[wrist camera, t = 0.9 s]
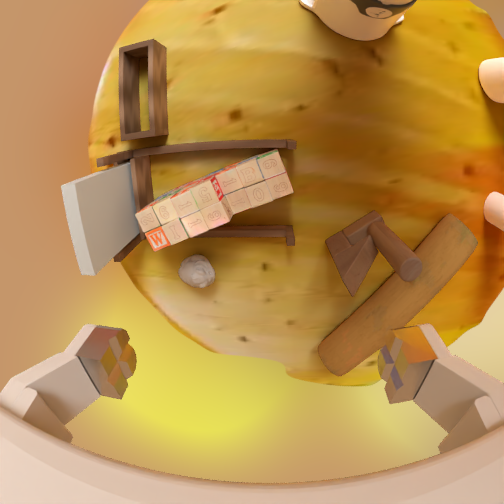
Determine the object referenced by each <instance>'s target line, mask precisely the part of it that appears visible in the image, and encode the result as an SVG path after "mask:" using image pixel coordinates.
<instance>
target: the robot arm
mask: <svg viewBox="0 0 504 504" xmlns="http://www.w3.org/2000/svg"><path fill="white" fill-rule="evenodd" d="M299 2H300V4H301V5H302V6H304V7H305V8H307V9H309V10H311V11H313V12H314V13H315V14H316V15H317V16H318V17H319V18H320V19H321V20H322V21H323V22H324V23H325V24H326V25H327V26H328V27H329V28H331V29H332V30H334V31H335V32H337V33H339V34H341V35H343V36H345V37H348V38H351V39H355V40H363V41H367V40H375V39H378V38H380V37H382V36H383V35H385V34H386V33H387V32H388V30H389V29H390V28H391V26H393V25H395V24H398V23H400V22H401V21H402V20H403V19H404V16H403V14H404V13H405V12H406V11H407V10H408V9H409V8H410V7H411V6H412V5H413V4H414V3H415V2H416V0H299ZM129 339H130V338H129V336H128V333H127V331H126V330H124V329H121V328H113V327H107V326H100V325H99V326H98V325H92V324H86V325H84V326H83V328H82V329H81V330H80V331H79V333H78V334H77V335H76V337H75V338H74V339H73V341H72V342H71V343H70V344H69V346H68V347H67V348H66V350H65V351H64V352H63V353H58V354H56V355H54V356H52V357H50V358H48V359H46V360H44V361H43V362H41V363H39V364H37V365H35V366H33V367H31V368H30V369H28V370H26V371H24V372H22V373H20V374H18V375H16V376H14V377H13V378H11V379H10V380H9V382H8V383H7V385H6V386H5V387H4V389H3V390H2V392H1V393H0V504H504V383H502V382H500V381H499V380H497V379H495V378H494V377H492V376H490V375H489V374H487V373H485V372H483V371H482V370H480V369H478V368H477V367H475V366H473V365H472V364H470V363H468V362H466V361H465V360H463V359H461V358H460V357H458V356H456V355H454V356H452V355H451V354H450V352H449V350H448V349H447V347H446V346H445V344H444V343H443V341H442V339H441V338H440V336H439V335H438V333H437V332H436V330H435V329H434V327H433V326H432V325H431V324H429V323H428V324H422V325H416V326H410V327H403V328H395V329H388V330H387V332H386V333H385V337H384V341H385V343H386V345H385V346H384V347H383V348H382V349H381V350H380V353H379V356H378V370H379V374H380V377H381V378H382V379H384V380H385V381H386V382H387V383H386V386H385V391H386V394H387V397H388V400H389V403H390V404H393V403H399V402H404V401H410V400H413V401H414V402H415V403H416V404H417V405H418V406H419V407H420V408H422V410H424V411H425V412H426V413H427V414H428V415H429V416H430V417H431V418H432V419H433V420H435V421H436V422H437V423H438V424H439V425H440V426H441V427H442V428H443V429H444V430H446V431H447V432H448V433H449V434H448V435H447V436H446V437H445V438H444V440H443V441H442V442H441V443H440V445H439V446H438V448H439V451H440V454H438V455H435V456H432V457H429V458H427V459H424V460H420V461H417V462H413V463H410V464H407V465H403V466H400V467H395V468H392V469H387V470H383V471H378V472H374V473H369V474H364V475H358V476H352V477H345V478H338V479H331V480H322V481H311V482H294V483H245V482H244V483H243V482H229V481H217V480H208V479H200V478H193V477H186V476H181V475H175V474H169V473H165V472H160V471H155V470H150V469H147V468H143V467H139V466H135V465H131V464H128V463H124V462H121V461H118V460H114V459H111V458H108V457H105V456H102V455H99V454H96V453H94V452H91V451H88V450H85V449H83V448H80V447H78V446H75V445H73V444H71V443H70V442H71V440H72V438H73V437H72V434H71V433H70V432H69V431H68V429H67V428H66V427H65V426H64V425H65V424H67V423H68V422H69V421H70V420H72V419H73V418H74V417H75V416H77V415H78V414H79V413H80V412H82V411H83V410H84V409H85V408H87V407H88V406H89V405H90V404H92V403H93V402H94V401H95V400H97V399H98V398H99V397H100V395H102V396H107V397H112V398H117V399H122V397H123V395H124V392H125V390H126V388H127V386H128V383H127V380H126V379H128V378H129V377H131V376H132V375H133V373H134V371H135V369H136V362H137V361H136V354H135V351H134V349H133V348H132V347H131V346H130V345H129V344H128V341H129Z"/></svg>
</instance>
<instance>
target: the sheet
mask: <svg viewBox="0 0 504 504" xmlns="http://www.w3.org/2000/svg"><path fill="white" fill-rule="evenodd" d="M61 189H62V195H63V200H64V206H65V211H66V216H67V221H68V225H69V230H70V233H71V238H72V242H73V246H74V250H75V254H76V257H77V261H78V264H79V268H80V271H81V275H96V274H97V273H98V272H99V271H100V270H101V269H102V268H103V267H104V266H105V265H106V264H107V263H108V262H109V261H110V260H111V259H112V258H113V257H114V256H115V255H116V254H117V253H118V252H119V251H121V250H122V249H123V248H124V247H125V246H126V245H127V244H128V243H129V242H130V241H131V240H132V239H133V238H134V237H136V236H137V235H138V234H139V233H140V231H139V225H138V220H137V218H136V216H135V214H136V206H135V199H134V191H133V183H132V175H131V165H130V161H129V162H126V163H123V164H120V165H117V166H114V167H111V168H108V169H105V170H102V171H99V172H96V173H93V174H91V175H88V176H85V177H82V178H80V179H77V180H75V181H72V182H69V183H67V184H65V185H62V186H61Z"/></svg>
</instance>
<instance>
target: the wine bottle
mask: <svg viewBox="0 0 504 504" xmlns="http://www.w3.org/2000/svg"><path fill="white" fill-rule="evenodd" d="M479 80H480V83H481V86H482V88H483V90H484V91H485V93H486V94H487V96H488V97H489V98H490V99H492V100H493V101H495V102H498V103H504V57H503V58H496V59H489V60H485V61H483V62H482V63H481V64H480V66H479Z"/></svg>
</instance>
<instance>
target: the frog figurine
mask: <svg viewBox="0 0 504 504" xmlns="http://www.w3.org/2000/svg"><path fill="white" fill-rule="evenodd" d="M178 274H179V277H180V278H181V279H182V281H184V282H185V283H187V284H189V285H190V286H192V287H196V288H197V287H199V288H204V287H207V286H209V285H210V284H212V283H213V282H214V280H215V270H214V269H213V267H212V266H211V264H210V262H209V260H208V259H207V258H206V257H205V256H203V255H193V256H190V257H187V258H186V259H184V260H183V261H182V263H181V267H180V268H179V271H178Z"/></svg>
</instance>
